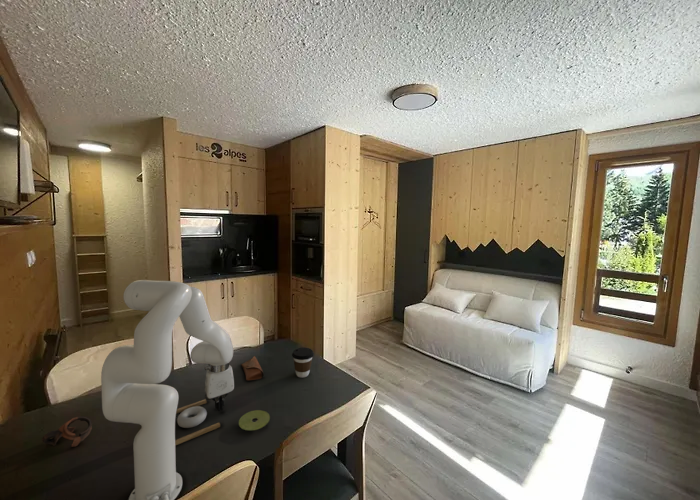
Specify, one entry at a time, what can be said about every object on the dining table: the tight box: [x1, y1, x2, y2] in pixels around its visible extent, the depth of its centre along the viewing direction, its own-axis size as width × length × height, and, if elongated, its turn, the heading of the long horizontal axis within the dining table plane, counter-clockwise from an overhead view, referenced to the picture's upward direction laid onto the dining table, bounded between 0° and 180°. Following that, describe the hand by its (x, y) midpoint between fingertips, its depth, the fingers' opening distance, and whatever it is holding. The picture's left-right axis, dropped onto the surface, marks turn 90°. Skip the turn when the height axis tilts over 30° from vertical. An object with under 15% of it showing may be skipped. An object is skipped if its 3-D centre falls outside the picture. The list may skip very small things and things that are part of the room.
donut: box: [176, 405, 208, 429], centre depth 110 cm, size 10×4×10 cm
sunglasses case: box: [240, 355, 265, 381], centre depth 148 cm, size 18×7×7 cm
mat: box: [238, 409, 271, 431], centre depth 110 cm, size 11×11×2 cm
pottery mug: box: [41, 415, 93, 448], centre depth 98 cm, size 12×10×8 cm
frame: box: [175, 398, 221, 447], centre depth 109 cm, size 19×17×1 cm
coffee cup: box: [291, 347, 315, 378], centre depth 146 cm, size 11×11×12 cm
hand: (219, 408), depth 117 cm, fingers closed
